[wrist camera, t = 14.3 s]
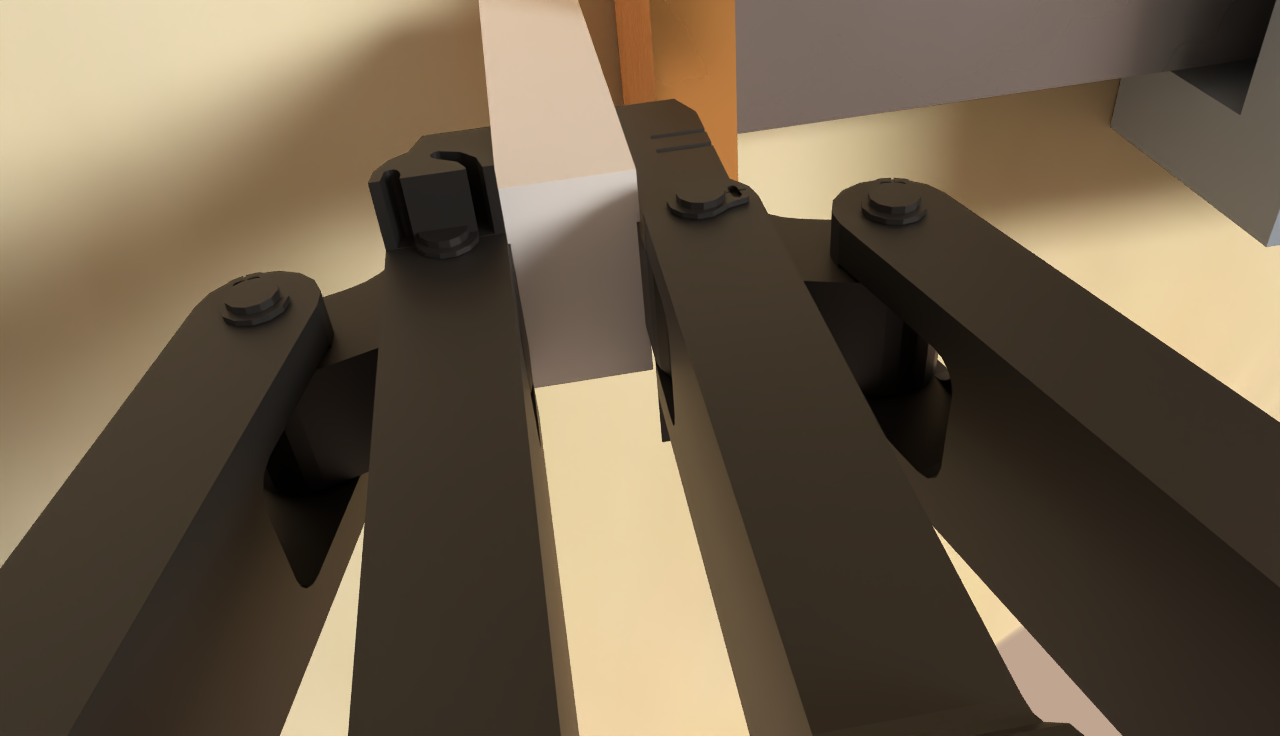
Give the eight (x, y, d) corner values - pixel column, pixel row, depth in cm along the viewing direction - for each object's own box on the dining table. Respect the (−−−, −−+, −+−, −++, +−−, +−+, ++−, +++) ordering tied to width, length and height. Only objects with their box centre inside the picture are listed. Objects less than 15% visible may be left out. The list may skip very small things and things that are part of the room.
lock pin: (627, 141, 19) (666, 246, 16) (605, -105, 17) (646, -36, 13) (1312, 42, 21) (1473, 122, 17) (1396, -202, 18) (1602, -160, 15)
